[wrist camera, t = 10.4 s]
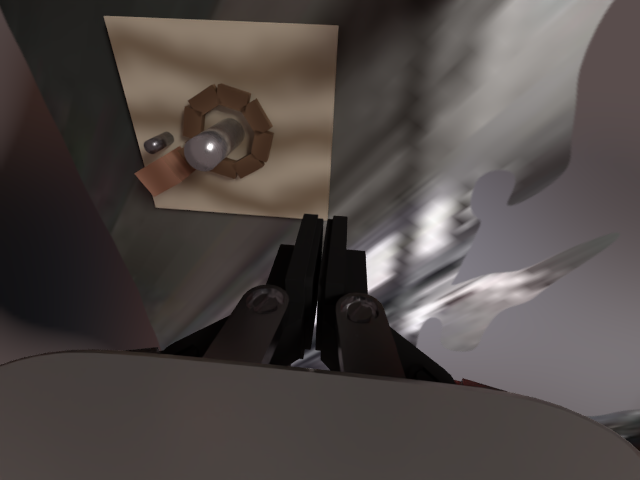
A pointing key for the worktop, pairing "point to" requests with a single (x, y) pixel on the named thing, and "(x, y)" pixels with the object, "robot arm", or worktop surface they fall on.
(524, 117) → the worktop surface
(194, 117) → the ring with handle
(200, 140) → the grey cylinder
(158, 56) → the board
